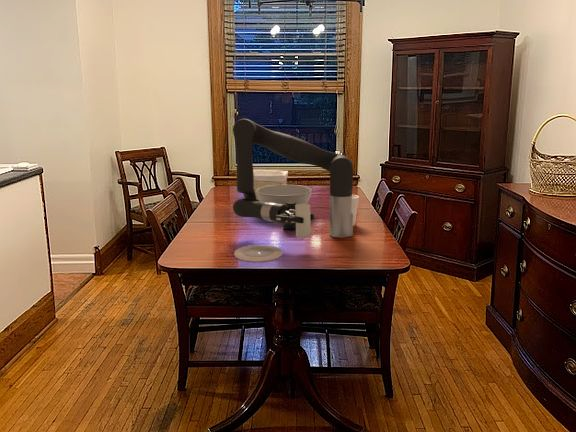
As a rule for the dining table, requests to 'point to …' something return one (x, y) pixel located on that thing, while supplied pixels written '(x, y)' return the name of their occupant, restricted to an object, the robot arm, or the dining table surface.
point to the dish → (258, 253)
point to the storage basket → (269, 178)
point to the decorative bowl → (284, 194)
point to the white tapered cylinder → (304, 228)
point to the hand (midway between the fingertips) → (308, 218)
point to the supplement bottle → (291, 225)
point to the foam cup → (354, 206)
